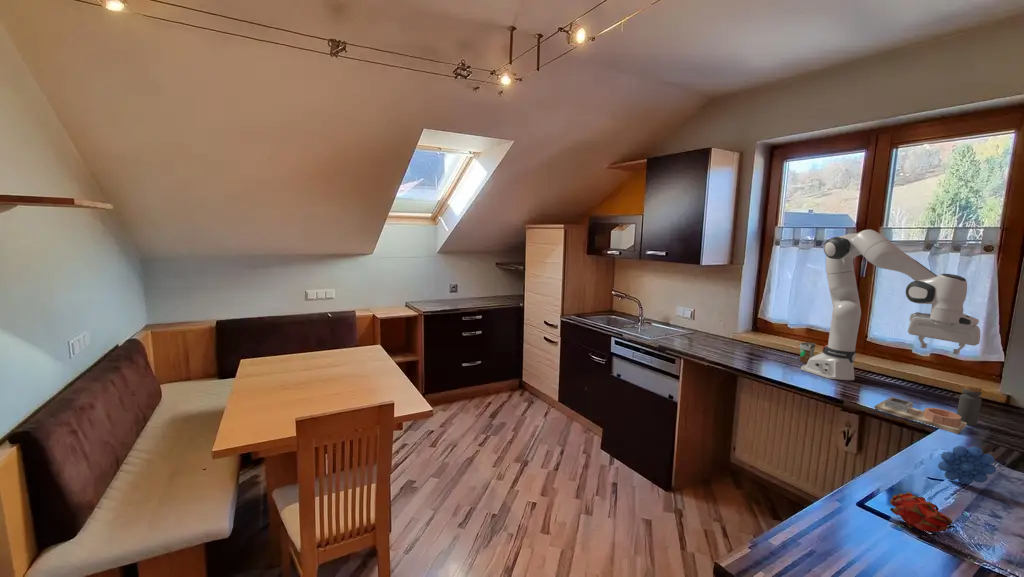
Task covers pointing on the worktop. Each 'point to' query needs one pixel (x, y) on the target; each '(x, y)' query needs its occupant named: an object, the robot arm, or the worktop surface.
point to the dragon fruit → (919, 513)
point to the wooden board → (920, 418)
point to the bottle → (970, 404)
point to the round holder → (942, 416)
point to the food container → (806, 351)
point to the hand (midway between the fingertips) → (939, 350)
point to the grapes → (967, 465)
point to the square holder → (899, 404)
